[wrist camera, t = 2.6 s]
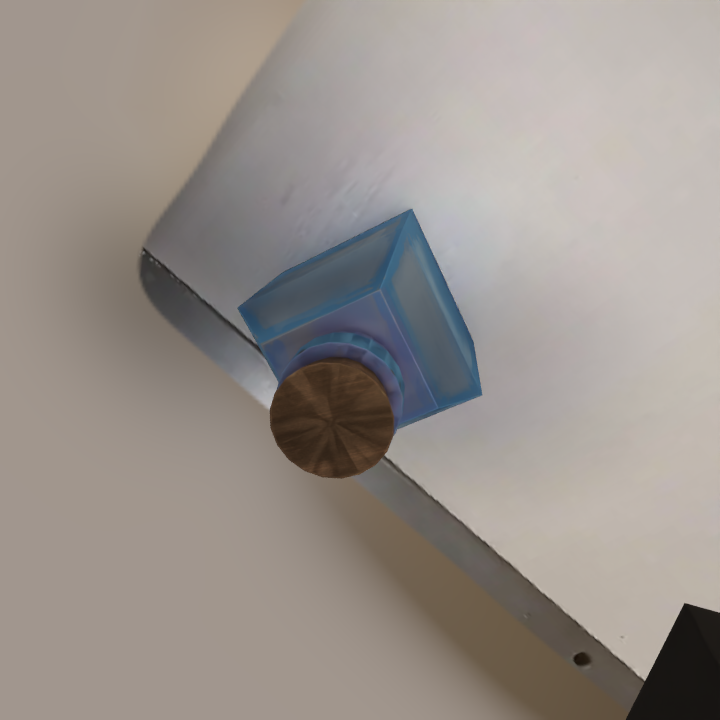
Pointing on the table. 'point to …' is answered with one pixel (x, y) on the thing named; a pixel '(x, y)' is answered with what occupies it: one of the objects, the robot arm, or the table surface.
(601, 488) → the table surface
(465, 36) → the table surface
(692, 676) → the robot arm
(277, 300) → the perfume bottle
